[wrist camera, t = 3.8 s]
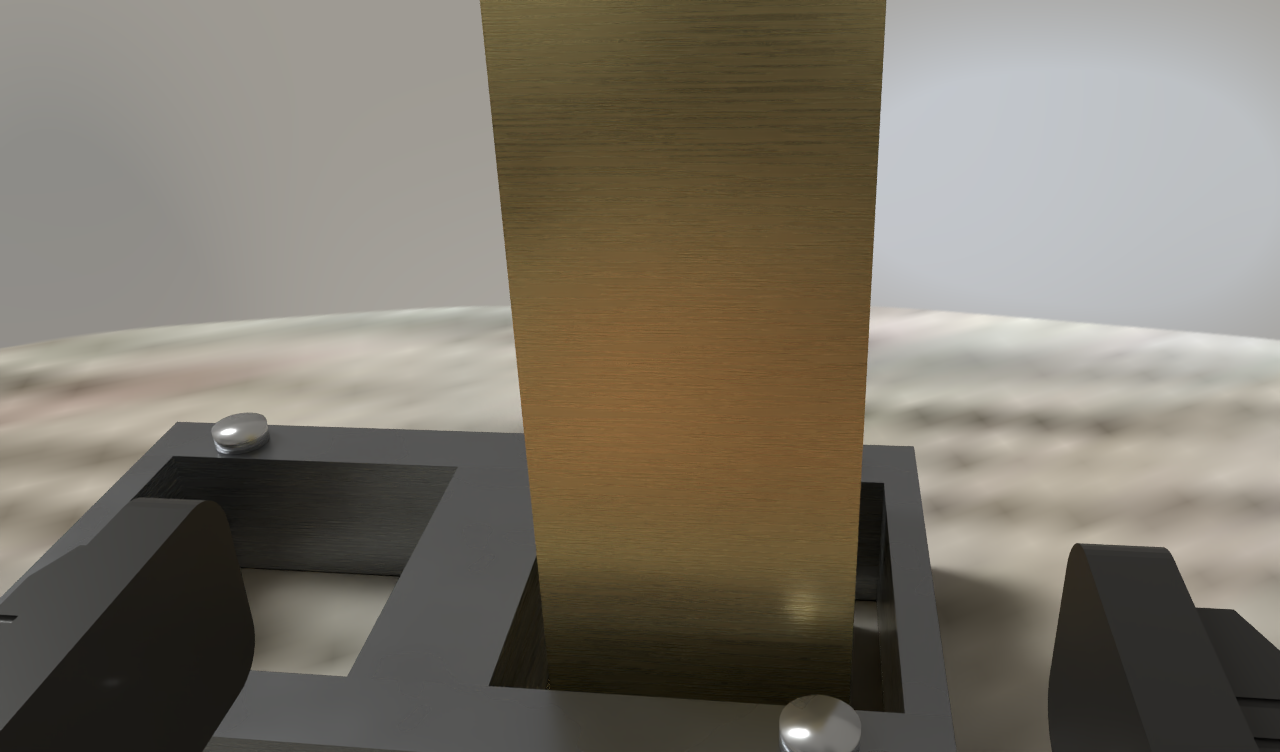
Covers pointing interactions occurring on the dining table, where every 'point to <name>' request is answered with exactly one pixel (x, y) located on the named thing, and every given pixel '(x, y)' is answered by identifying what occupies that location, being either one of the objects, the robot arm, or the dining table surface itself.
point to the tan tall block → (691, 331)
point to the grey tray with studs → (497, 600)
